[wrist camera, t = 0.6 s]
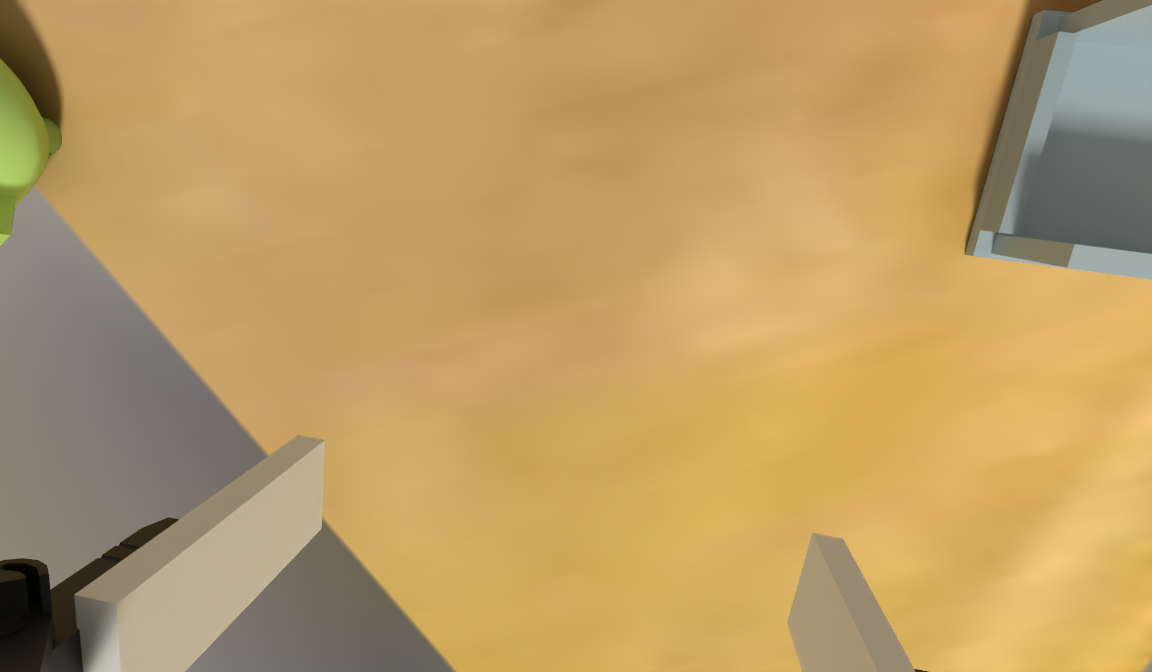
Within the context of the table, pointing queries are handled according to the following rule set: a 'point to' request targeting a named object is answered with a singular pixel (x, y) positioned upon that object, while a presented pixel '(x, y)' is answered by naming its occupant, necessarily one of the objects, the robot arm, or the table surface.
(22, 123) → the teapot
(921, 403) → the table surface
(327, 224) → the table surface
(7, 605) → the robot arm
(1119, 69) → the holder
